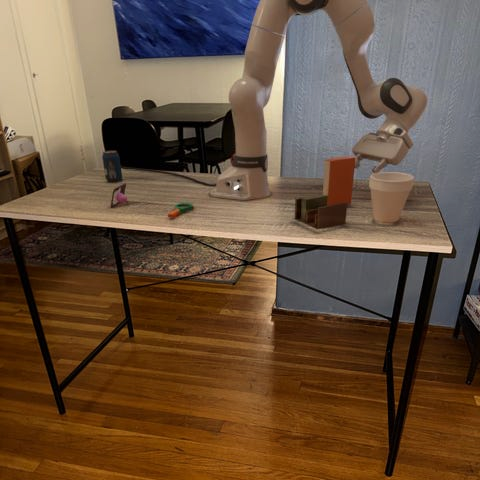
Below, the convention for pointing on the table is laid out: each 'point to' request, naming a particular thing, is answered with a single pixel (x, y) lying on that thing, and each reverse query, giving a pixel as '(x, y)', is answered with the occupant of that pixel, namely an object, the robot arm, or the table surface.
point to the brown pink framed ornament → (119, 195)
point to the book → (339, 179)
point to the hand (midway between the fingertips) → (364, 169)
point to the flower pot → (389, 194)
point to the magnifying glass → (180, 209)
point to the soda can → (112, 166)
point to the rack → (319, 211)
